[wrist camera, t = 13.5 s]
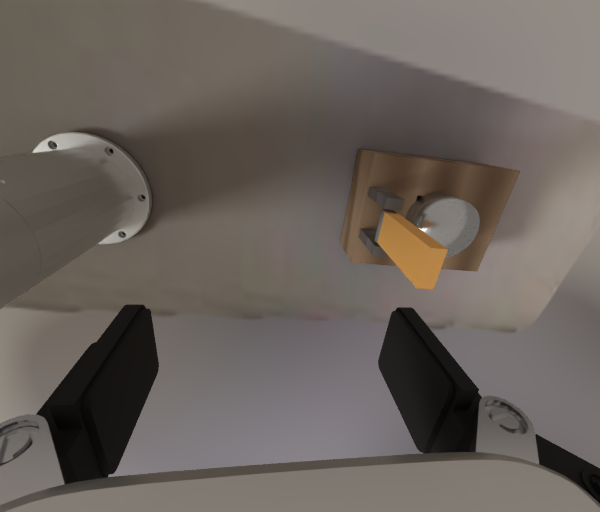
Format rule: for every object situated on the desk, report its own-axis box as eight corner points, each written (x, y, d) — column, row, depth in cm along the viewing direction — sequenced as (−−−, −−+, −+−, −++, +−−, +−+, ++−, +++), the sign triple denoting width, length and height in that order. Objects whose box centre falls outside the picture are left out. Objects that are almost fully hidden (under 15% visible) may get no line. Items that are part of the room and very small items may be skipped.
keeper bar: (386, 239, 28) (372, 238, 27) (394, 209, 26) (379, 208, 26) (434, 289, 19) (415, 288, 19) (449, 249, 18) (429, 247, 18)
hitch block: (340, 242, 38) (363, 284, 28) (358, 148, 33) (394, 159, 23) (449, 251, 40) (507, 293, 30) (481, 163, 35) (564, 179, 25)
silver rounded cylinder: (382, 226, 37) (412, 255, 29) (393, 179, 34) (431, 197, 26) (424, 230, 38) (466, 259, 29) (439, 184, 35) (489, 203, 27)
